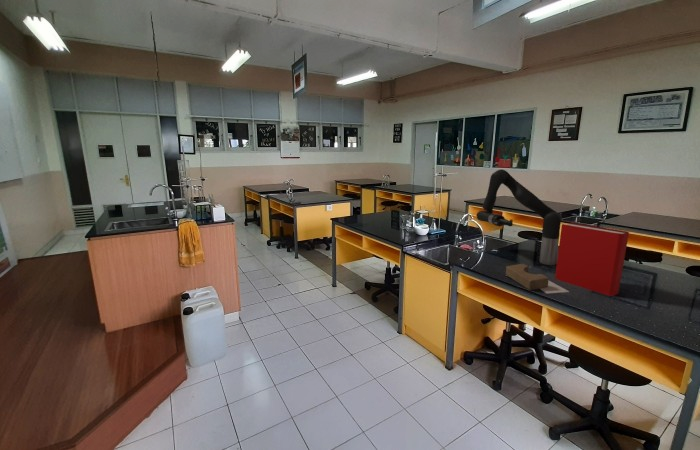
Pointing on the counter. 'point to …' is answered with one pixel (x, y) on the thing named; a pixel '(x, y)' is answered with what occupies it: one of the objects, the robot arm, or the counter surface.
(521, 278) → the decorative block
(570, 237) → the book
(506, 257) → the counter surface
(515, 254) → the counter surface
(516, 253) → the counter surface
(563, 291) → the mat
